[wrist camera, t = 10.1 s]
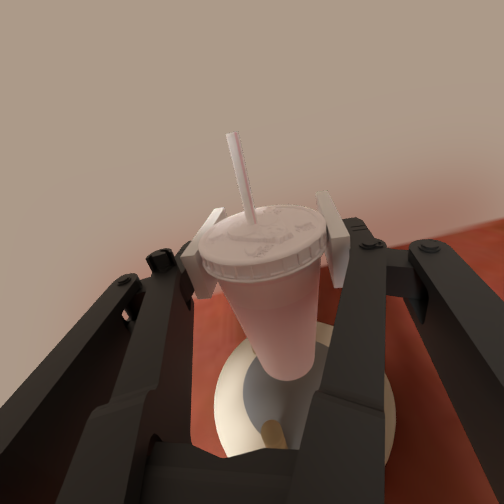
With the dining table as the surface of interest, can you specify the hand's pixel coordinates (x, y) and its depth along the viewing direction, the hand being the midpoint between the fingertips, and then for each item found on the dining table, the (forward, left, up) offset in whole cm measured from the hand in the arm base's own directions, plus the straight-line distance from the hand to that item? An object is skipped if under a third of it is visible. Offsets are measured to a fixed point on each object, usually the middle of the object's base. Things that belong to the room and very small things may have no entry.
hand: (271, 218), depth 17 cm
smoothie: (-1, +5, -8) cm, 10 cm away
